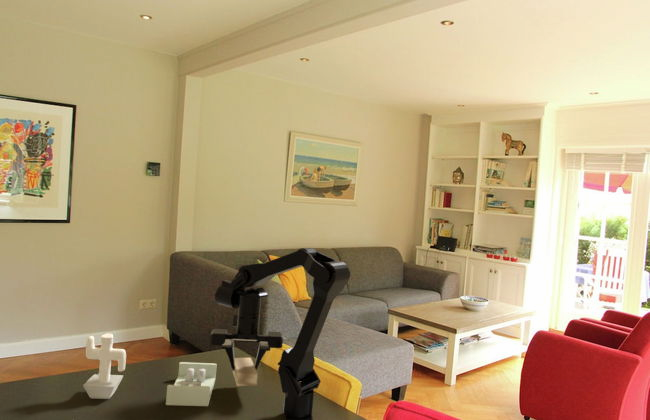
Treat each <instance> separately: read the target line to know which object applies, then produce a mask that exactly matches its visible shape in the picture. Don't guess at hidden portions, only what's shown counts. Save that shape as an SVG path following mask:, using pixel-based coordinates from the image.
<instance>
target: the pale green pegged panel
mask: <svg viewBox="0 0 650 420" xmlns="http://www.w3.org/2000/svg"><path fill="white" fill-rule="evenodd" d="M216 375H217V363H210V362H209V363H207V362H189V361H180V362H179V363H178V376H177V378H176V379H175V382H174V384H168V385H167V386H166V397H165V405H166V406H187V407H189V406H191V407H193V406H194V407H209V403H210V401H211V396H212V393H213V390H214V386H215V382H216Z"/></svg>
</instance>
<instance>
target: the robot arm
mask: <svg viewBox="0 0 650 420" xmlns="http://www.w3.org/2000/svg"><path fill="white" fill-rule="evenodd" d="M301 267H303V269H304V270H305V271H306V273H307V274H308V275H310V276H311V277H312V278H313V280H312V287H313V297H312V299H311V302H310V305H309V307H308V310H307V312H306V315H305V317H304V320H303V323H302V326H301V328H300V331H299V334H298V336H297V338H296V341H295V343H294V345H293V346H292V347H288V348H286V349H284V350H283V351H282V353H281V357H280V360H279V362H278V363H277V366H278V369H277V370H278V371H277V373H278V375H279V380H280V386H281V390H282V393H284V398H283V405H282V406H283V407H282V408H283V409H282V411H283V415H284V416H285V418H284V419H285V420H314V418H313V408H314V398H315V397H314V396H315V392H314V390H315V389H318V388H319V386H320V384H321V379H320V377H319V376H318V373H317V372H316V371H315V369H314V366H315V353H314V351H315V347H316V345H317V343H318V341H319V338H320V335H321V333H322V330H323V327H324V325H325V323H326V319H327V317H328V315H329V313H330V310H331V307H332V305H333V302H334V300H335V299H336V298H337V297H338V296H339V295H340V293H341V292H342V291H343V290H344V288H345V287H346V285H347V283H348V282H349V280H350V277H351V271H350V269H349V267H348V265H347V264H346V263H345V262H344V261H341V260H336V259H335V258H333V257H331V256H329V255H326V254H324V253H321V252H319V251H318V250H316V249H315V248H313V247H301V248H299V249H298V250H296V251H294V252H291V253H287V254H284V255H282V256H279V257H276V258H274V259H272V260H269V261H266V262H261V263H254V264H253V263H252V264H246V265H245V264H244V265H241V266H240V267H239V268H238V271H237V274H236V275H235V276H234V278H233V279H232V280H229V279H225V280H221V285H219V286H218V288H217V289H216V292H215V293H214V299H215V302H216V303H217V304H218V305H220V306H224V307H228V308H232V309H237V314H233V317H232V318H233V319H232V327H233V328H236V333H229V332H228V329H226V328H224V329H222V328H214V329H212V330H211V333H210V336H209V345H210V346H220V347H221V349H223V350H225V352H226V354H227V357H228V360H229V363H230V368H231V371H234V366H235V359H234V358H235V342H245V343H259V344H258V349H257V353H256V358H255V362H254V366H255V369H256V371H257V370H258V367H259V366H260V363H261V361H262V359H263V357H264V355H265V354H266V353H267V352H269V351H271V349H282V348H283V345H284V341H283V340H284V338H283V337H284V336H283V335H284V334H283V333H282V332H280V331H270V330H269V331H268V332H267V334H259V332H260V331H259V329H260V320H261V318H260V317H261V304H262V298H268V297H269V294H268V292H266V291H265V289H264V287H258V288H252V287H257V286H263V285H265V284H266V283H269V282H270V281H271V280H272V279H273V278H274V277H276V276H278V275H281V274H284V273H288V272H290V271H293V270H296V269H298V268H301ZM246 288H247V289H246Z"/></svg>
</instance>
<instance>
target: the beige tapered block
mask: <svg viewBox="0 0 650 420" xmlns="http://www.w3.org/2000/svg"><path fill="white" fill-rule="evenodd" d="M234 359H235V366H234V371H232V370H231V371H232V374H233V378H234V381H235V384H236V387H246V386H247V387H251V386H255V387H256V386H257V385H258V375H259V374H258V371H257V370H256V369H255V363H254V362H253V359H252V358H251V357H234Z"/></svg>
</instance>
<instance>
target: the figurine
mask: <svg viewBox="0 0 650 420" xmlns="http://www.w3.org/2000/svg"><path fill="white" fill-rule="evenodd" d="M113 344H114V334H113V333H112V332H109V333H108V332H106V333H104V334H102V335H101V336H100V347H96V346H95V336H94V335H90V336H89V335H88V336H87V338H86V345H85V357H86V359H89V360H99V365H98V367H99V368H98V373H97V374H96V373H94V374H93V375H92V376H91V377H90V378H88V380H86V382H85V383H84V384H83V385H82V386H83V388H84V390H85V392H86V393H87V395H88V396H89V398H90V399H98V400H99V399H100V400H109V399H110V398H111V397H112V396H113V395H114V393H116V390H117V389H118V387H119V385H120V383H121V381H122V380H123V378H124V375H123V374H122V375H119V374H111V368H112V367H111V366H112V361H117V371H118V372H119V373H120V372H123V371H125V370H126V363H127V353H126V350H125V349H124V348H113Z"/></svg>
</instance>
